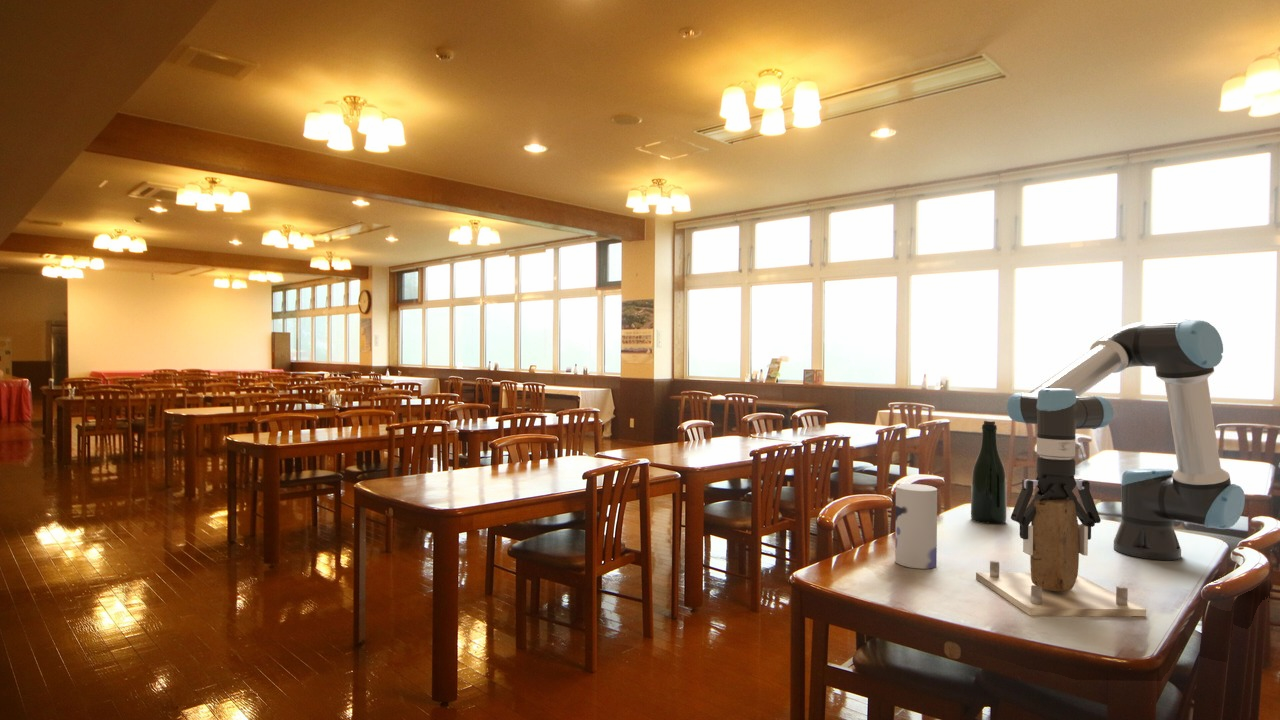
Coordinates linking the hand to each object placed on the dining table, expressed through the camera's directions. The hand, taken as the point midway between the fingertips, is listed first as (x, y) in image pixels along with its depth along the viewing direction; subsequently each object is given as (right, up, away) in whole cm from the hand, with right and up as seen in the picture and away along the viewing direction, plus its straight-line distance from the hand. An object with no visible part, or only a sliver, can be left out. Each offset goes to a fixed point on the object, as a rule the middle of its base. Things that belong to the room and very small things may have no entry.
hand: (1055, 553), depth 158 cm
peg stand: (0, -10, 0) cm, 10 cm away
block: (0, -7, 0) cm, 7 cm away
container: (-22, -9, +24) cm, 34 cm away
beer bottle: (+21, -9, +72) cm, 75 cm away
